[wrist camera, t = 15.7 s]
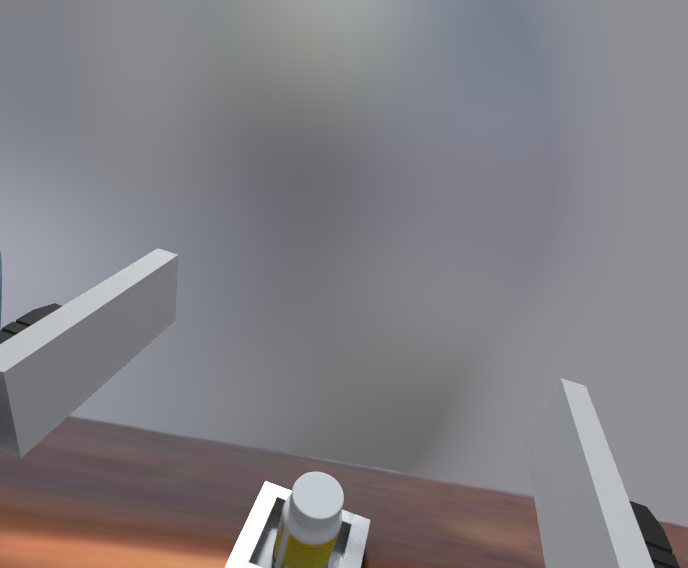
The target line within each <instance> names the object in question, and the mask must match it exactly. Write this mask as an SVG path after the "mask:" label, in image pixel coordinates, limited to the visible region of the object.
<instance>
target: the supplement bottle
mask: <svg viewBox="0 0 688 568" xmlns="http://www.w3.org/2000/svg"><path fill="white" fill-rule="evenodd" d="M343 502H344V494H343V490H342V488H341V486H340V484H339V483H338V482H337V481H336V480H335V479H334V478H333V477H331V476H330V475H328V474H325V473H322V472H310V473H306V474H304V475H302V476H301V477H300V478H299V479H298V480H297V481H296V482H295V484H294V486H293V489H292V492H291V494H290V495H289V496H288V497H287V499H286V501H285V503H284V505H283V509H282V514H281V518H280V522H279V526H278V531H277V535H276V539H275V543H274V548H273V563H274V566H275V568H327V566H328V563H329V560H330V557H331V554H332V551H333V549H334V546H335V543H336V540H337V537H338V534H339V531H340V528H341V525H342V506H343Z"/></svg>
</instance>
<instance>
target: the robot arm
mask: <svg viewBox="0 0 688 568" xmlns="http://www.w3.org/2000/svg"><path fill="white" fill-rule="evenodd" d="M177 267H178V255H177V254H173V253H171V252H167V251H164V250H161V249H156V250H154V251H153V252H151V253H149V254H148V255H146V256H144V257H143V258H141V259H140V260H138V261H136V262H135V263H133V264H131V265H130V266H128V267H126V268H125V269H123V270H121V271H120V272H118V273H117V274H115V275H113V276H112V277H110V278H108V279H107V280H105V281H103V282H102V283H100V284H98V285H97V286H95V287H93V288H92V289H90V290H89V291H87V292H85V293H84V294H82V295H80V296H79V297H77V298H75V299H74V300H72V301H70V302H69V303H67V304H66V305H64V306H61V305H58V304H51V305H48V306H45V307H42V308H38V309H35V310H32V311H31V312H29V313H27V314H25V315H24V316H22V317H20V318H19V319H17V320H16V322H12V323H10V324H8V325H6V326H5V327H3V328H2V330H0V450H1V451H4V452H6V453H9V454H12V455H14V456H17V457H19V458H22V457H23V456H24V455H25V454H26V453H27V452H29V451H30V450H31V449H32V448H33V447H34V446H35V445H36V444H38V443H39V442H40V441H41V440H42V439H43V438H44V437H45V436H46V435H48V434H49V433H50V432H51V431H52V430H53V429H54V428H55V427H57V426H58V425H59V424H60V423H61V422H62V421H63V420H64V419H65V418H67V417H68V416H69V415H70V414H71V413H72V412H73V411H74V410H76V409H77V408H78V407H79V406H80V405H81V404H82V403H83V402H84V401H85V400H87V399H88V398H89V397H90V396H91V395H92V394H93V393H94V392H96V391H97V390H98V389H99V388H100V387H101V386H102V385H103V384H105V383H106V382H107V381H108V380H109V379H110V378H111V377H112V376H113V375H115V374H116V373H117V372H118V371H119V370H120V369H121V368H122V367H124V366H125V365H126V364H127V363H128V362H129V361H130V360H131V359H132V358H134V356H136V355H137V354H138V353H139V352H140V351H141V350H142V349H144V348H145V347H146V346H147V345H148V344H149V343H150V342H151V341H152V340H154V339H155V338H156V337H157V336H158V335H159V334H160V333H162V332H163V331H164V330H165V329H166V328H167V327H168V326H169V325H171V324H172V323H173V322H174V321H175V318H176V317H175V316H176V294H177V269H178V268H177ZM1 297H2V262H1V253H0V327H1V301H2V298H1ZM525 444H526V450H527V456H528V462H529V468H530V474H531V480H532V487H533V493H534V499H535V505H536V511H537V517H538V523H539V530H540V536H541V542H542V548H543V554H544V560H545V566H546V568H680V567H679V564H678V562H677V560H676V557H675V555H673V554H672V551H673V550H672V548H671V546H670V543H669V541H668V539H667V536H666V534H665V532H664V529H663V528H662V526H661V525H660V524H659V522H658V521H657V520H656V518H655V517H654V516H653V515H652V513H651V512H650V511H649V509H648V508H647V507H646V506H643V505H640V504H637V503H634V502H631V501H629V499H628V497H627V494H626V491H625V489H624V486H623V483H622V481H621V478H620V475H619V473H618V470H617V468H616V465H615V462H614V460H613V457H612V454H611V452H610V449H609V446H608V444H607V441H606V438H605V436H604V433H603V431H602V428H601V425H600V423H599V420H598V418H597V415H596V412H595V409H594V407H593V404H592V402H591V399H590V396H589V394H588V391H587V388H586V386H584V385H580V384H577V383H574V382H571V381H568V380H565V379H562V378H561V379H560V381H559V383H558V384H557V386H556V387H555V389H554V391H553V392H552V394H551V396H550V397H549V399H548V401H547V402H546V404H545V406H544V407H543V409H542V411H541V412H540V414H539V416H538V417H537V419H536V421H535V422H534V424H533V426H532V427H531V429H530V431H529V432H528V434H527V436H526V437H525Z"/></svg>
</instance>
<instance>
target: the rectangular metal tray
mask: <svg viewBox="0 0 688 568" xmlns="http://www.w3.org/2000/svg"><path fill="white" fill-rule="evenodd" d="M291 492H292V491H290V490H288V489H285V488H282V487H280V486H277V485H274V484H271V483H269V482H266V481H265V483H264V486H263V488H262V490H261V492H260V494H259V496H258V498H257V500H256V502H255V505H254V507H253V509H252V511H251V513H250V515H249V517H248V519H247V521H246V524H245V526H244V528H243V530H242V532H241V534H240V536H239V538H238V540H237V543H236V545H235V547H234V549H233V551H232V553H231V555H230V557H229V560H228V562H227V564H226V566H225V568H275V566H274V563H273V548H274V543H275V539H276V535H277V531H278V526H279V522H280V518H281V514H282V509H283V505H284V503H285V501H286V499H287V497H288V496H289V495H290V494H291ZM369 524H370V520H369V519H366V518H363V517H361V516H358V515H355V514H353V513H350V512H347V511H344V510H342V525H341V528H340V531H339V534H338V537H337V540H336V543H335V546H334V549H333V551H332V554H331V557H330V560H329V563H328V566H327V568H361V564H362V559H363V554H364V549H365V544H366V539H367V534H368V529H369Z"/></svg>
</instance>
